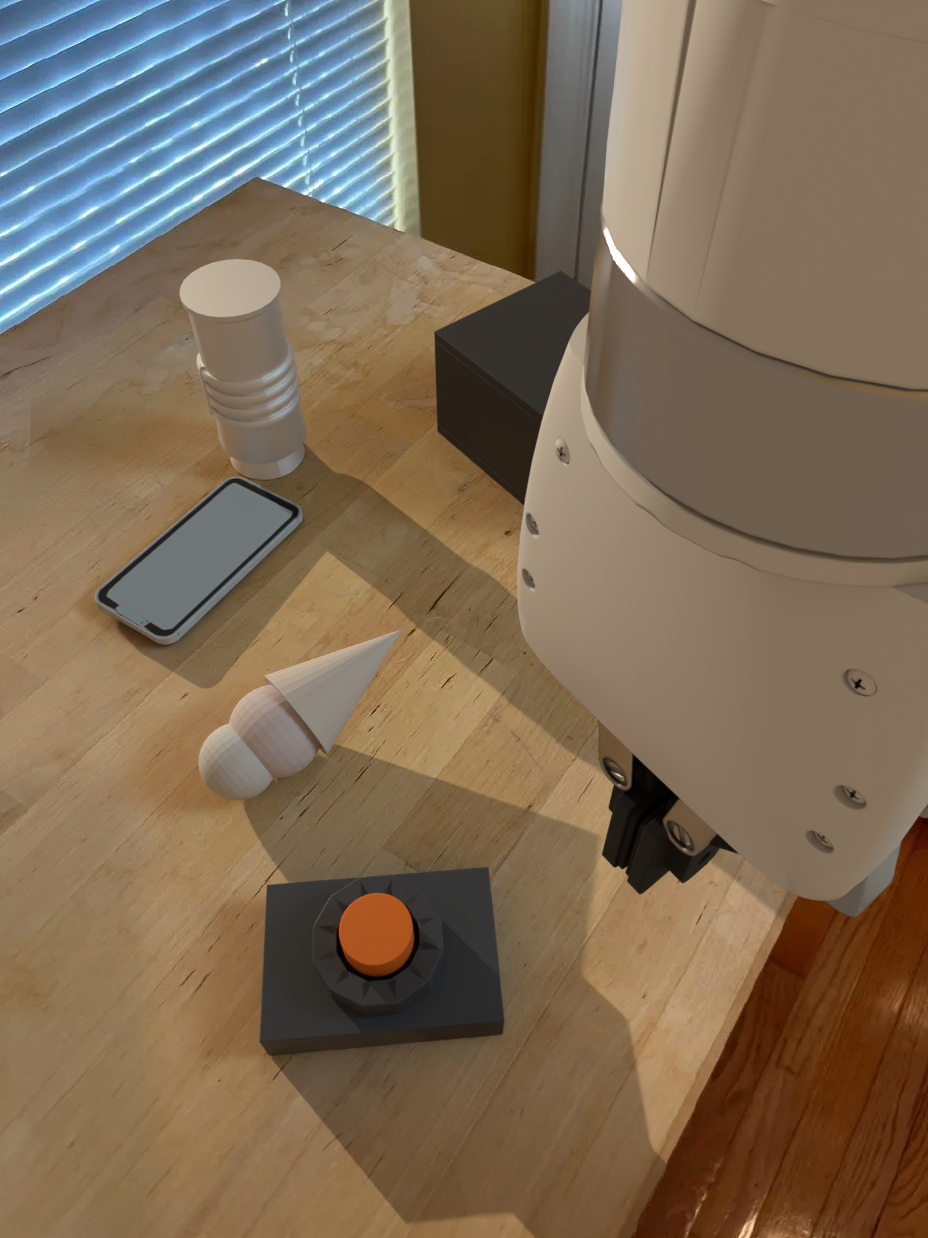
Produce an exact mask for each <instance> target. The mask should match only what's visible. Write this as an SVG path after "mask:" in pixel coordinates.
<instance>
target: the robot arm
mask: <svg viewBox="0 0 928 1238" xmlns="http://www.w3.org/2000/svg"><path fill="white" fill-rule="evenodd" d="M613 79H614V81H613V88H612V98H611V104H610V112H609V121H608V130H607V139H606V151H605V165H604V166H605V167H604V179H603V180H604V181H603V193H602V198H601V202H600V205H599V213H598V221H597V222H598V223H597V232H596V240H595V241H596V242H595V250H594V251H595V252H594V260H593V271H592V279H591V289H590V290H591V297H590V307H589V313H588V314H587V315H586V316H585V317H584V318H583V319H582V320H581V322H580V323H579V324H578V325H577V327H576V328H575V330H574V332H573V334H572V336H571V338H570V340H569V343H568V345H567V348H566V350H565V353H564V356H563V358H562V361H561V363H560V366H559V369H558V371H557V374H556V377H555V379H554V382H553V386H552V389H551V392H550V395H549V399H548V402H547V405H546V409H545V412H544V415H543V419H542V423H541V427H540V431H539V435H538V439H537V443H536V447H535V451H534V456H533V460H532V465H531V470H530V475H529V481H528V486H527V491H526V497H525V504H524V505H523V512H522V519H521V525H520V532H519V533H520V534H519V544H518V545H519V546H518V557H517V568H516V569H517V572H516V573H517V574H516V575H517V576H516V577H517V578H516V592H517V597H516V598H517V611H518V619H519V624H520V629H521V633H522V636H523V639H524V640H525V641H526V643H527V644H528V646H529V648H530V649H531V651H532V652H533V654H534V656H536V657H537V659H538V660H539V661H540V663H542V665H543V666H544V667H545V668H546V669H547V671H548V672H549V673H550V674H551V675H552V676H553V677H554V678H555V679H556V680H557V681H558V682H559V683H560V684H561V685H562V686H563V687H564V688H565V689H566V690H567V691H568V692H569V693H570V694H571V695H572V696H573V697H574V698H575V699H576V700H577V701H578V702H579V703H580V704H581V705H582V706H584V708H585V709H586V710H587V711H588V712H589V713H590V714H591V715H592V716H593V717H594V718H595V719H596V720H597V722H598V725H597V726H598V763H599V766H600V768H601V770H602V772H603V774H604V775H605V776H606V778H607V779H608V780H609V781H610V782H611V783H612V784H613V786H612V790H611V793H610V794H611V795H610V799H609V803H608V810H609V811H610V812H611V815H610V820H609V823H608V828H607V832H606V835H605V838H604V839H605V840H604V844H603V848H602V852H601V856H602V857H603V858H604V859H605V860H606V861H607V862H608V863H609V864H610V866H612V867H613V868H615V869H616V868H617V867H619V869H621V870H624V869H626V870H625V875H626V876H627V880H626V883H628V884H629V885H630V886H631V888H632V889H633V890H634V891H635V892H636V893H637V894H638V895H642V894H644V893H645V892H647V891H648V890H649V889H650V888H651V887H653V886H654V885H655V884H657V882H659V881H660V880H661V879H662V878H663V877H664V876H665V875H666V874H667V873H669V872H670V873H671V874H672V875H673V876H674V877H675V878H676V879H677V880H678V881H679V882H680V883H681V884H685V883H688V881H690V880H691V879H692V878H693V877H694V876H696V874H698V873H699V872H700V871H701V870H702V869H704V867H706V866H707V865H708V864H709V863H710V862H711V861H712V859H714V857H715V856H716V855H717V853H718V852H719V850H720V849H722V850H724V851H728V852H731V853H733V854H737V855H740V856H741V857H742V858H743V859H744V860H745V861H747V862H748V864H750V865H751V866H752V867H753V868H754V869H756V870H757V871H758V872H759V873H761V874H762V875H763V876H764V877H765V878H767V879H768V880H770V881H771V882H773V883H774V884H775V885H777V886H778V887H780V888H781V889H783V890H784V891H787V892H788V893H790V894H791V895H794V896H797V897H800V898H803V899H807V900H811V901H820V902H825V903H826V904H827V905H829V906H830V907H832V908H833V909H834V910H836V911H837V912H839V913H840V914H842V915H844V916H846V917H849V918H857V917H859V916H860V915H861V913H863V911H865V910H866V909H867V907H868V906H869V905H870V904H872V902H874V901H875V900H876V898H878V897H879V896H880V895H881V894H882V893H883V892H884V891H885V890H886V889H887V887H889V885H891V883H892V881H893V879H894V876H895V872H896V866H897V863H898V858H899V855H900V850H901V846H902V842H903V839H904V838H905V836H906V835H907V834H908V833H909V831H910V830H911V828H912V827H913V825H914V824H915V822H916V821H917V820H918V818H919V817H920V818H923V819H928V0H622V3H621V13H620V21H619V32H618V42H617V51H616V62H615V70H614V78H613Z"/></svg>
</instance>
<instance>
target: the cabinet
mask: <svg viewBox="0 0 928 1238" xmlns="http://www.w3.org/2000/svg"><path fill="white" fill-rule="evenodd" d="M590 297H591V289H589V288H588V287H587V286H585V285H583V284H582V283H581V282H578V281H577V280H575V279H574V278H573V277H572V276H569V275H568V274H566V273H565V272H563V271H562V270H559V271H557V272H555V273H553V274H551V275H548V276H546V277H544V278H543V279H540V280H538V281H536V282H534V283H532V284H530V285H528V286H526V287H524V288H522V289H519V290H517V291H515V292H513V293H512V294H509V295H507V296H505V297H503V298H500V299H499V300H496V301H495V302H492V303H490V304H488V305H486V306H484V307H482V308H480V309H478V310H476V311H474V312H472V313H470V314H468V315H465V316H464V317H461V318H460V319H457V320H455V321H453V322H451V323H449V324H447V325H445V326H442V327H440V328H438V329H437V330H434V332H433V333H434V334H433V335H434V336H433V337H434V365H435V366H434V369H435V397H436V398H435V399H436V427H437V428H436V429H437V433H439V434H440V435H441V436H442V437H443V438H444V439H446V440H447V441H448V442H449V443H450V444H452V446H454V447H455V448H456V449H457V450H458V451H460V452H461V453H462V454H464V456H466V457H467V458H468V459H469V460H470V461H471V462H473V463H474V464H475V465H476V466H477V467H479V468H480V469H481V470H482V471H483V472H484V473H485V474H487V475H488V476H489V477H490V478H492V479H493V480H494V481H495V482H496V483H497V484H499V485H500V486H501V487H502V488H503V489H505V490H506V491H507V492H508V493H509V494H511V496H513V497H514V498H515V499H516V500H517V501H519V502H520V503H521V504H522V505H523V506H524V504H525V497H526V491H527V486H528V481H529V475H530V470H531V465H532V460H533V456H534V451H535V447H536V443H537V439H538V435H539V431H540V427H541V423H542V419H543V415H544V412H545V409H546V405H547V402H548V399H549V395H550V392H551V389H552V386H553V382H554V379H555V377H556V374H557V371H558V369H559V366H560V363H561V361H562V358H563V356H564V353H565V350H566V348H567V345H568V343H569V340H570V338H571V336H572V334H573V332H574V330H575V328H576V327H577V325H578V324H579V323H580V322H581V320H582V319H583V318H584V317H585V316H586V315H587V314H588V313H589V307H590Z"/></svg>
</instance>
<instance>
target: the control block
mask: <svg viewBox="0 0 928 1238" xmlns="http://www.w3.org/2000/svg"><path fill="white" fill-rule="evenodd" d="M490 878H491V877H490V868H489V866H482V867H469V868H456V869H445V870H444V869H443V870H433V871H432V870H431V871H419V872H408V873H395V874H383V875H382V874H381V875H372V876H371V875H369V876H358V877H345V878H344V877H343V878H333V879H322V880H308V881H307V880H306V881H297V882H284V883H283V882H282V883H272V884H271V883H270V884H267V885H266V891H265V892H266V895H265V917H264V937H263V938H264V939H263V961H262V964H263V965H262V980H261V1002H260V1003H261V1006H260V1009H261V1010H260V1023H259V1024H260V1027H259V1028H260V1029H259V1043H260V1045H261V1047H262V1048H263V1049H264V1051H265V1052H266V1053H267V1055H268V1056H270V1057H271V1056H278V1055H279V1056H281V1055H291V1054H302V1053H312V1052H325V1051H335V1050H347V1049H356V1048H369V1047H379V1046H390V1045H391V1046H392V1045H402V1044H414V1043H424V1042H435V1041H436V1042H437V1041H446V1040H447V1041H448V1040H459V1039H467V1038H469V1039H470V1038H480V1037H490V1036H502V1035H503V1034H504V1028H505V1010H504V1000H503V994H502V993H503V991H502V983H501V973H500V963H499V962H500V961H499V954H498V945H497V944H498V943H497V935H496V926H495V925H496V924H495V915H494V907H493V906H494V905H493V897H492V896H493V895H492V887H491V879H490ZM372 893H384V894H388V895H391V896H393V897H395V898H397V899H398V900H400V901H401V902H402V903H403V904H404V905H405V906H406V908H407V909H408V911H409V913H410V915H411V919H412V924H413V932H414V945H413V949H412V952H411V954H410V956H409V958H408V960H407V961H406V962H405V964H404V965H403V966H402V967H400V968H399V969H398V970H396V971H395V972H393V973H391V974H388V975H385V976H377V977H374V976H368V975H364V974H362V973H360V972H358V971H357V970H355V969H354V968H353V967H352V966H351V965H350V964H349V962H348V961H347V959H346V957H345V954H344V951H343V948H342V945H341V942H340V938H339V926H340V921H341V918H342V916H343V914H344V912H345V911H346V909H347V908H348V907H349V905H351V904H352V903H353V902H354V901H355V900H357V899H358V898H360V897H362V896H364V895H368V894H372Z"/></svg>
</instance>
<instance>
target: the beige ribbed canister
mask: <svg viewBox="0 0 928 1238" xmlns="http://www.w3.org/2000/svg"><path fill="white" fill-rule="evenodd" d="M281 281H282V280H281V279H280V276H279V274H278V272H277V271H276V270H275V269H273V268H272V267H271V266H269V265H267V264H265V263H263V262H261V261H256V260H253V259H243V258H234V259H233V258H232V259H223V260H218V261H213V262H211V263H208V264H205V265H202V266H201V267H199V268H197V269H195V270H194V271H192V272H191V273H190V274H189V275H187V276H186V277H185V278H184V280H183V281H182V283H181V285H180V286H179V294H178V295H179V298H180V302H181V304H182V307H183V308H184V309H185V310H186V311H187V312H188V316H189V320H190V323H191V324H190V325H191V328H192V330H193V331H192V332H193V335H194V339H195V342H196V346H197V349H198V353H197V355H196V367H197V371H198V375H199V378H200V381H201V386H202V389H203V392H204V396H205V400H206V404H207V408H208V411H209V413H210V415H212V416H213V417H214V418H215V421H216V428H217V433H218V439H219V443H220V446H221V449H222V450H223V451H224V453H226V455H227V456H229V457H230V463H231V466H232V468H233V469H234V470H235V471H236V472H237V473H238V474H240V475H241V476H242V477H244V478H249V479H251V480H257V481H267V480H274V479H278V478H282V477H284V476H287V475H288V474H291V473H292V472H294V471H295V470H296V469H297V468H298V467H299V466H300V465H301V463H302V462H303V460H304V457H305V455H306V453H305V452H306V451H305V450H306V449H305V445H304V442H305V439H306V437H307V425H306V421H305V417H304V413H303V411H302V406H301V400H302V391H301V387H300V384H299V383H300V380H299V379H300V378H299V374H298V372H297V369H298V368H297V367H298V366H297V362H296V359H295V350H294V347H293V345H292V343H291V341H290V340H288V337H287V331H286V326H285V320H284V315H283V314H284V313H283V309H282V303H281V294H282V282H281Z"/></svg>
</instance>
